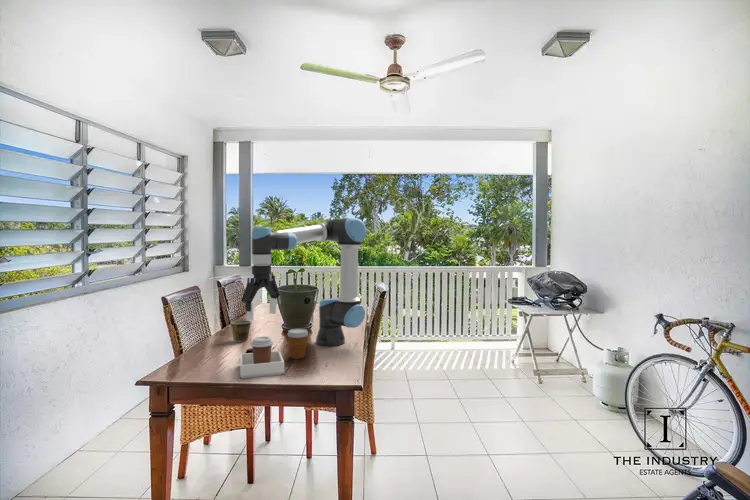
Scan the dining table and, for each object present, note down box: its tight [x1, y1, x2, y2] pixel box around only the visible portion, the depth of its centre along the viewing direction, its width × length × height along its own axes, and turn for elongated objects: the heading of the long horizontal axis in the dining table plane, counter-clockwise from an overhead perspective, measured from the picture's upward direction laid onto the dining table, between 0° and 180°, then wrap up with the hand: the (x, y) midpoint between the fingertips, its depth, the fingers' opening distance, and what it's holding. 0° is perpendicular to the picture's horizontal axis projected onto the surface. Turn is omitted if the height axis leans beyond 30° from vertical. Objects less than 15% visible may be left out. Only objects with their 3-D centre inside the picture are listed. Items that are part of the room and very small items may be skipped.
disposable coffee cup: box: [286, 328, 309, 360], centre depth 184 cm, size 10×10×12 cm
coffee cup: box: [250, 335, 274, 364], centre depth 165 cm, size 9×9×12 cm
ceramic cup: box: [230, 319, 252, 343], centre depth 209 cm, size 13×10×10 cm
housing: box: [239, 350, 285, 379], centre depth 165 cm, size 17×17×5 cm
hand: (261, 316), depth 165 cm, fingers open, 13 cm apart
